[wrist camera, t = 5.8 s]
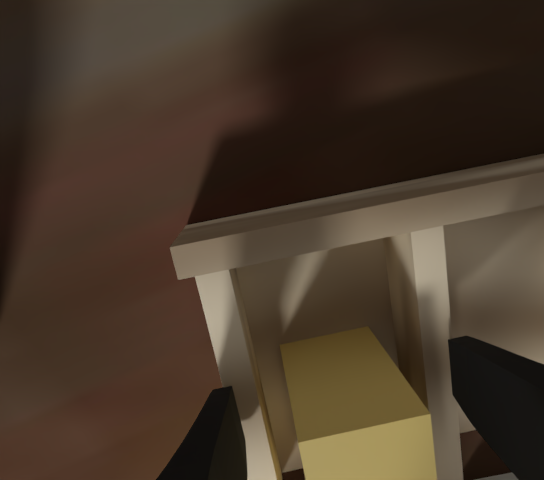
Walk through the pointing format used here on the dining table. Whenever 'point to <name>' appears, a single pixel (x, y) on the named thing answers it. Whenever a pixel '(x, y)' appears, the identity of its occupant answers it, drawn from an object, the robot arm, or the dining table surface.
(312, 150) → the dining table surface
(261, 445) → the birch comb rack
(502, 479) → the grey plug
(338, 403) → the mustard plug
